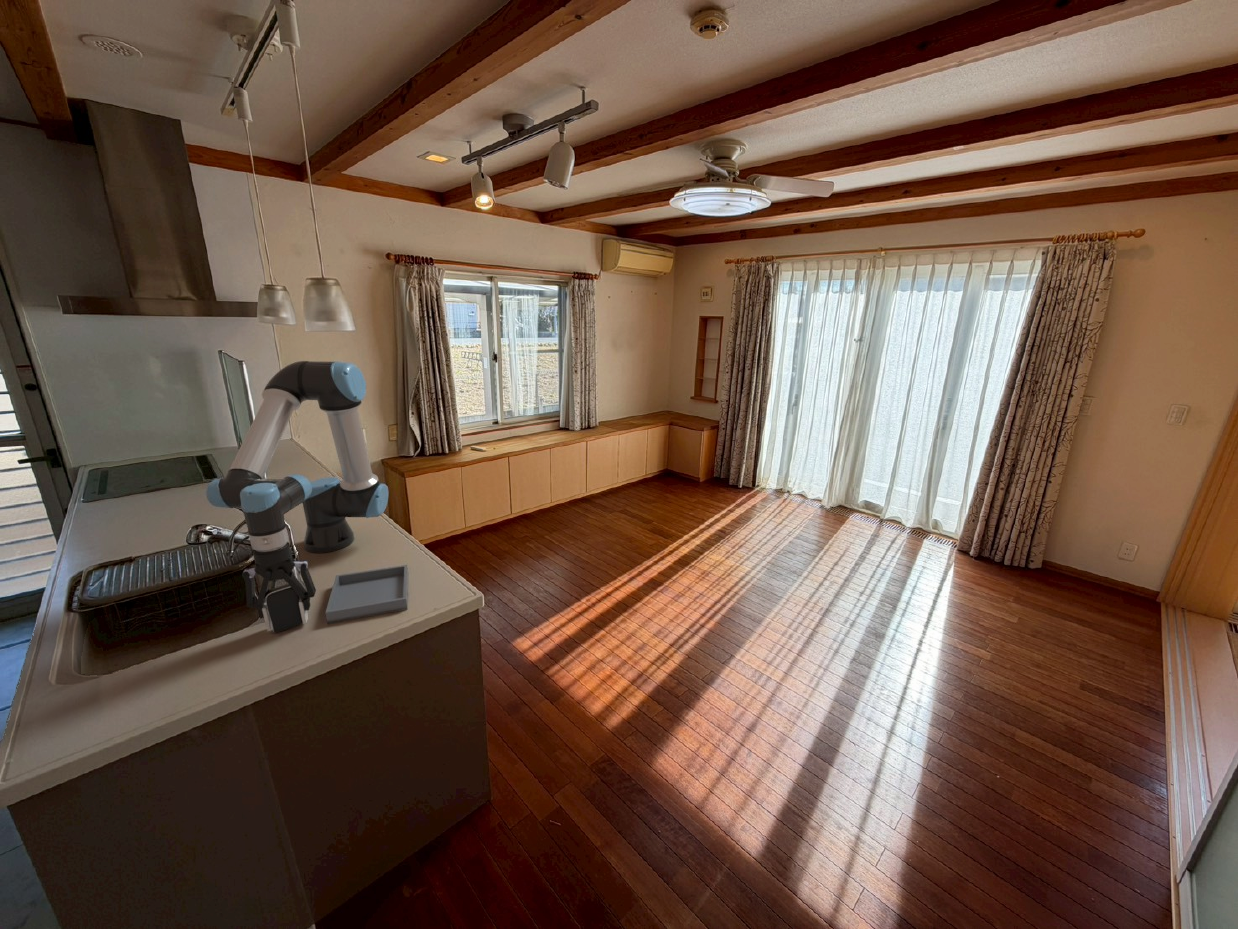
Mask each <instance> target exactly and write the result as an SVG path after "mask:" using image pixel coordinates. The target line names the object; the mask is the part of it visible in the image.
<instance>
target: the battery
mask: <svg viewBox="0 0 1238 929" xmlns="http://www.w3.org/2000/svg"><path fill="white" fill-rule="evenodd" d="M299 600H300V597H299V596H298V595H297V594H296V592H295V591H294V590H293V589H292V587H291V586H290V585H289V584H288V583H287V584H284V585H281V586H278V587H274V588H271V589H268V590H267V592H266V594H265V601H264V603H266V607H267V610H268V614H269V617H270V620H271V623H272V628H271V629H272V632H273V633H274V634H278V633H281V632H282V631H286V630H288V629H291V628H294V627H297V626H299V625H302V624H303V621H302V617H301V612H300V607H299Z"/></svg>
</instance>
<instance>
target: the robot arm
mask: <svg viewBox="0 0 1238 929" xmlns="http://www.w3.org/2000/svg"><path fill="white" fill-rule="evenodd" d="M364 376H365V375H364V374H363V372H362V371H361V370H360V368H359V367H358V366H356V365H355V363H350V362H343V361H309V360H300V361H296V362H292V363H290V364H288V365H286V366H284V367H283V368H281V369H280V370H279V371H277V373H275V375H274V376H272V377H271V379H270V380H269V381H268V382H267V384H266V385H265V387H264V389H263V391H262V393H261V398H262V399H263V401H262V402H261V405H260V406H259V409H258V411H257V413H256V415H255V416H254V419H253V421H252V423H251V426H250V427H249V429H248V430H247V433H246V435H245V437H244V439H243V440H242V443H241V446H240V448H239V450H238V452H237V453H236V455H235V457H234V460H233V461H232V463H231V465H230V468H229V470H228V471H227V473H226V475H225V477H220V478H215V479H213V480H212V481H211V482H209V483H208V485H207V486H206V492H205V496H206V500H207V501H208V503H209V504H211V506H213V507H216V508H226V509H237V508H239V509H241V510H242V514H243V516H244V520H245V524H246V527H247V533H248V538H249V542H250V546H251V549H252V555H253V560H254V564H255V567H252V568H250V567H246V568H245V569H244V570H243V572H242V574H241V577H242V578H243V580H244V582H245V583H244V584H245V598H246V599H245V600H246V601H245V602H246V607H247V608H249V609H251V608H256V609H257V613H258V617H259V618H260V619H264V623H265V627H266V631H271V629H273V628H272V623H271V620H270V617H269V614H268V610H267V607H266V602H265V594H266V592H267V591H269V587H270V586H269V585H270V583H271V582H274V581H277V580H280V581H281V580H284V581H285V583H287V584H289V585H290V586H291V587H292V589H293V590H294V591H295V592H296V594H297V595H298V596H299V598H300V600H299V607H300V612H301V617H302V621H303V623H302V624H303V625H304V624H307V622H308V620H309V614H308V611H309V610H310V608H311V601H310V598H314V597H315V595H316V592H317V588H316V586H315V584H314V581H313V578H312V576H311V573H310V571H309V568H308V566H309V560H307V559H303V561H296V560H295V559H294V557H293V554H292V549H291V544H290V542H289V534H288V531H287V526H286V522H285V516H284V515H285V514H287V513H288V512H290V511H291V510H294V509H295V508H296V507H298V506H299V505H301V504H302V508H303V512H304V517H305V522H306V530H305V535H304V540H303V544H304V548H305V550H306V551H307V552H310V553H314V554H321V553H322V554H323V553H331V552H335V551H338V550H341V549H344V548H346V547H348V546H350V545H351V544H352V543H353V542H354V541H355V535H354V532H353V530H352V528H351V526H350V524H349V523H348V521H347V519H346V518H366V519H369V518H379V517H381V516H382V515H383V514H384V512H385V511H386V508H387V506H388V502H389V487H388V486H387V485H386V484H385V483H382V482H381V483H380V480H379V477H378V475H376V474H374V473H373V471H372V466H371V463H370V458H369V457H370V456H369V454H368V449H367V448H368V447H367V445H366V440H365V435H364V432H363V427H362V422H361V418H360V414H359V408H360V407H361V406H362V401H363V400H364V399H365V397H366V395H367V390H366V389H367V382H366V378H365V377H364ZM305 401H317V403H318V407H319V410H321V411H323V412H324V413H326V415H327V419H328V422H329V427H330V432H331V434H332V439H333V443H334V446H335V451H336V456H337V459H338V461H339V466H340V470H341V472H342V474H341V475H342V477H343V479H342V480H340V478H338V477H336V476H334V477H333V476H330V477H323V478H319V479H318V478H317V479H314V480H311V481H309V479H308V478H307V477H305V476H303V475H301V474H290V475H287V476H284V477H283V478H278V479H277V478H275V479H274V478H271V479H270V478H264V477H265V474H266V472H267V470H268V467H269V466H270V463H271V462H272V459H273V457H274V455H275V452H276V450H277V448H278V446H279V444H280V442H281V439H282V437H283V435H284V433H285V430H286V428H287V426H288V423H289V421H290V419H291V418H292V415H293V413H294V411H296V410H298V409H299V408H301V407H300V406H301V405H302V403H303V402H305ZM294 568H296V569H297V570H298V571H299V572H300V576H301V579H302V582H303V584H304V585H303V584H302V583H301V581H299V579H298V578H297V577H296V575H295V573H294V571H293V570H294ZM256 574H258V575H259V576H260V577H261V578H263V579H262V583H261V587H260V591H259V593H258V598H257V599H256V586H255V576H256ZM304 586H305V587H304Z"/></svg>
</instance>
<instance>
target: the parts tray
mask: <svg viewBox="0 0 1238 929" xmlns="http://www.w3.org/2000/svg"><path fill="white" fill-rule="evenodd" d="M408 568H409V567H408V564H403V565H397V566H396V565H395V566H391V567H383V568H377V569H371V570H364V571H363V570H362V571H358V572H351V573H344V574H338V575H337V574H336V575H335V578H334V581H333V585H332V588H331V591H330V596H329V598H328V602H327V607H326V610H325V617H326V618H325V619H326V623H327V625H330V624H335V623H341V622H345V621H346V622H348V621H350V620H357V619H363V618H367V617H372V616H380V615H384V614H385V615H386V614H389V613H395V612H401V611H407V610H408V606H409V603H408V602H409V570H408Z"/></svg>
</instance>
